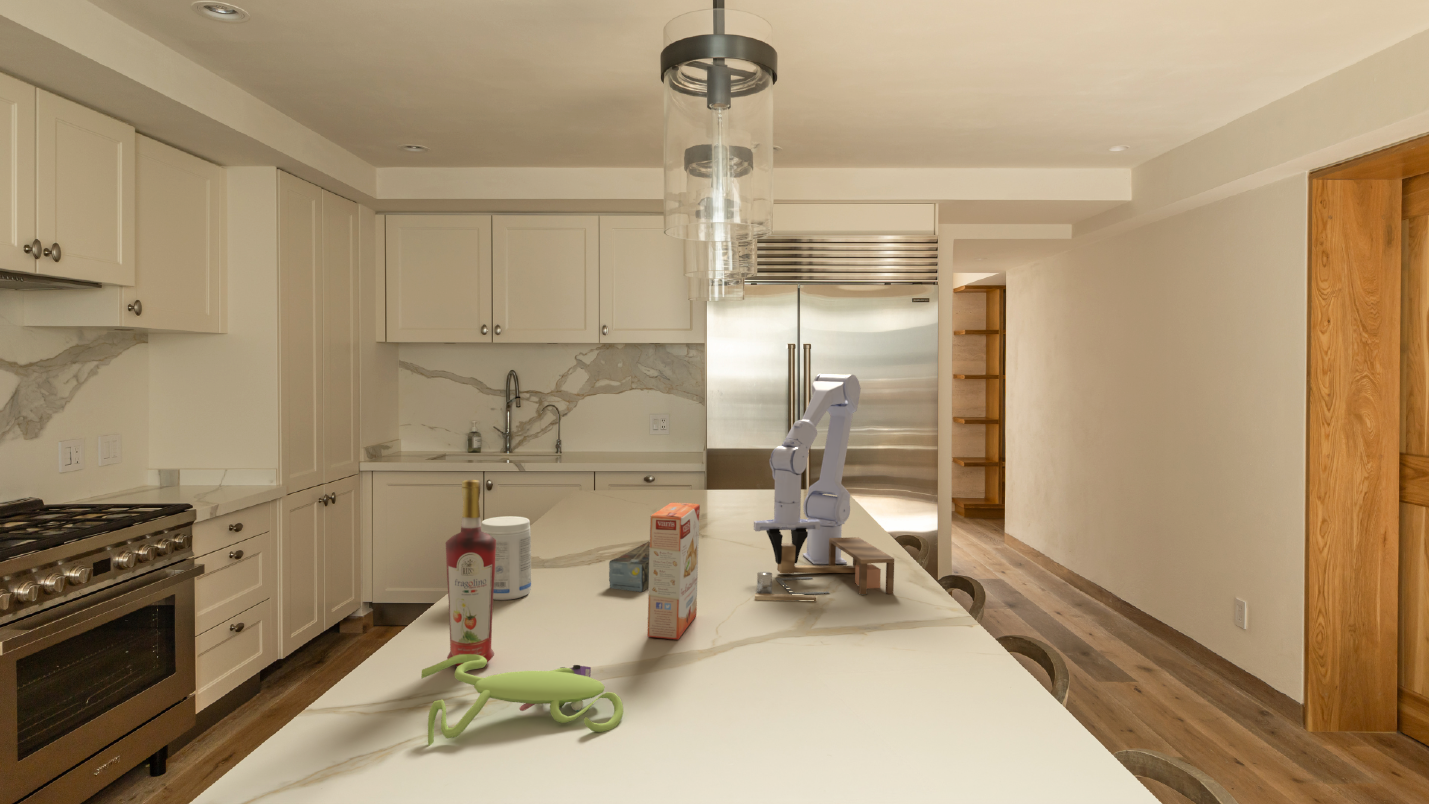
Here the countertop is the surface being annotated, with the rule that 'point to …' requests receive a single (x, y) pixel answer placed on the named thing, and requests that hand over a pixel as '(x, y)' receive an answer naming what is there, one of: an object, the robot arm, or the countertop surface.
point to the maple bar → (783, 597)
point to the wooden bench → (863, 559)
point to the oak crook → (790, 567)
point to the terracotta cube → (870, 576)
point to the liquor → (470, 580)
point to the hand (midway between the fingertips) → (786, 562)
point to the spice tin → (764, 582)
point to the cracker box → (673, 570)
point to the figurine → (524, 692)
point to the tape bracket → (796, 579)
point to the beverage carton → (631, 570)
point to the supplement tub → (510, 555)
